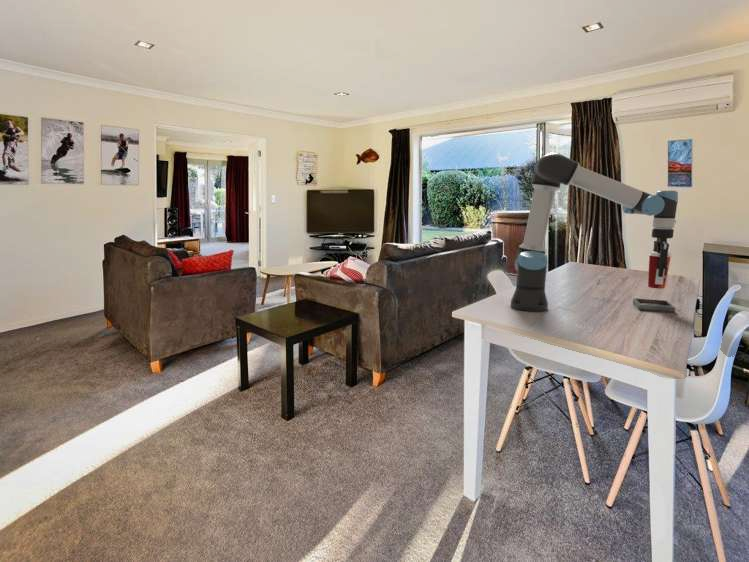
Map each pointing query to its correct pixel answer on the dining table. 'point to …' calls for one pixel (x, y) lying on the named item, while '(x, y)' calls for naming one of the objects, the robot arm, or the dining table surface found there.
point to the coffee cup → (652, 269)
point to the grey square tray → (653, 305)
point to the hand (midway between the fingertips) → (656, 282)
